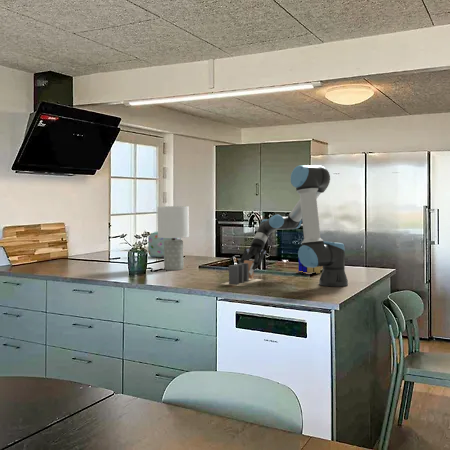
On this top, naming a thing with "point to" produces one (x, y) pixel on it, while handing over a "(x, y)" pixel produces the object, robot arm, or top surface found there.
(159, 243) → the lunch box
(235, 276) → the dark grey block
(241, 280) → the grey rectangular slab
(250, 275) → the salmon orange block
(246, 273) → the dark grey block
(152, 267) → the top surface
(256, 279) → the birch board
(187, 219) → the lamp
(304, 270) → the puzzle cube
